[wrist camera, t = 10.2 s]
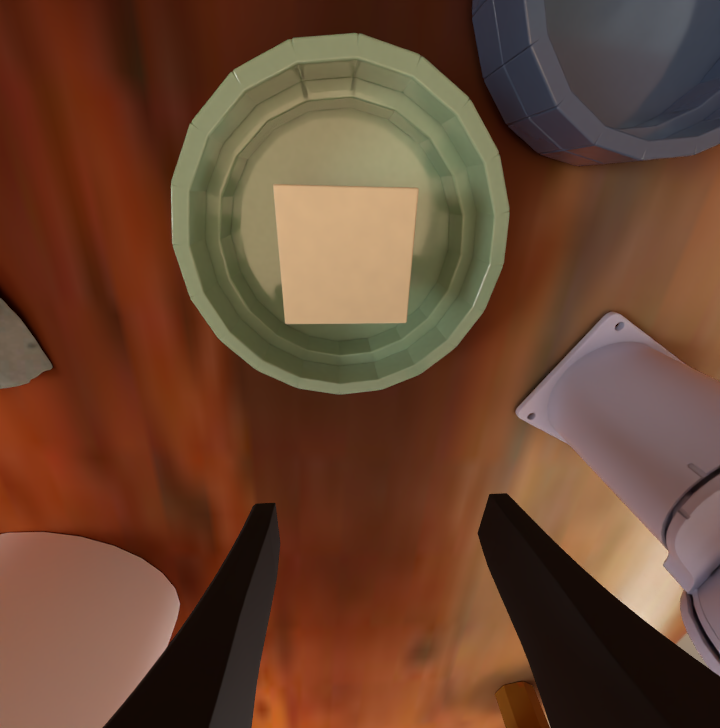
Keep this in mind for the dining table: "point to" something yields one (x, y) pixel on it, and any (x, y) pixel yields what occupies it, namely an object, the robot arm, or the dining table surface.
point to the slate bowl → (604, 75)
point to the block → (345, 252)
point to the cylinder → (76, 628)
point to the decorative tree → (520, 706)
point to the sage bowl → (338, 168)
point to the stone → (18, 351)
